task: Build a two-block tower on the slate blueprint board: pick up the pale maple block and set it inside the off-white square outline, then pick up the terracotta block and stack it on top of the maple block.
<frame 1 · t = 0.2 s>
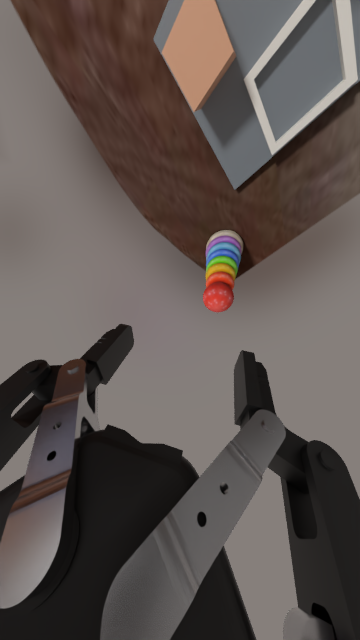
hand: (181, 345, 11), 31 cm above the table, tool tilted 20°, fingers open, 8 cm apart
blueprint board: (281, 22, 16), on the table
stacking toy: (224, 245, 36), on the table
terracotta block: (204, 56, 18), point 1 cm above the table, touching blueprint board
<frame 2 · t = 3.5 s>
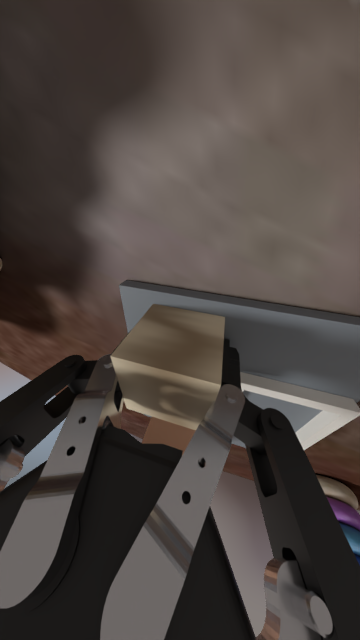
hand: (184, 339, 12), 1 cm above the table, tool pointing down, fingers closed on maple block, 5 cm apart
blueprint board: (221, 386, 16), on the table
stacking toy: (314, 480, 23), on the table
terracotta block: (178, 414, 20), point 1 cm above the table, touching blueprint board
maple block: (185, 337, 12), point 1 cm above the table, touching blueprint board, gripper
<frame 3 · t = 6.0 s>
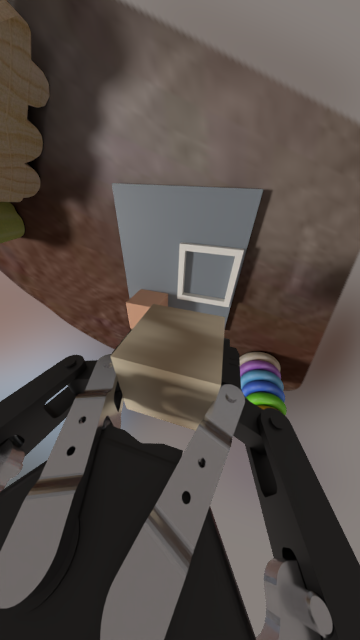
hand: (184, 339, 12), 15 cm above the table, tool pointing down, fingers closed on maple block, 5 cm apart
blueprint board: (179, 269, 25), on the table
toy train: (25, 129, 20), on the table
plant pot: (10, 217, 28), on the table
stacking toy: (256, 363, 32), on the table
terracotta block: (154, 303, 29), point 1 cm above the table, touching blueprint board
maple block: (185, 337, 12), point 15 cm above the table, touching gripper
when the fingers open (3 cm above the table, at t = 8.7 s): maple block drops 2 cm, resting on blueprint board.
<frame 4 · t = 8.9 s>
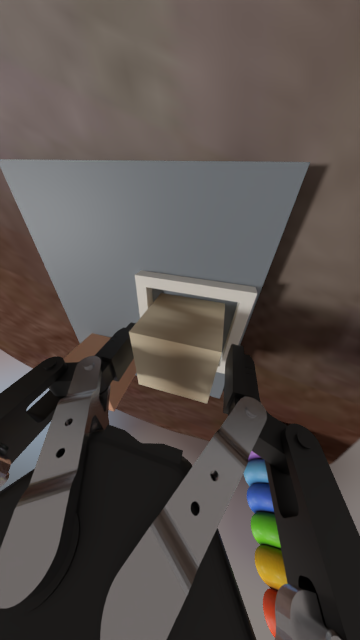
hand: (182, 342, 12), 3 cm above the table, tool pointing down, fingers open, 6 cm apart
blueprint board: (146, 308, 15), on the table
stacking toy: (267, 431, 22), on the table
terracotta block: (115, 353, 19), point 1 cm above the table, touching blueprint board
maple block: (189, 323, 14), point 1 cm above the table, touching blueprint board
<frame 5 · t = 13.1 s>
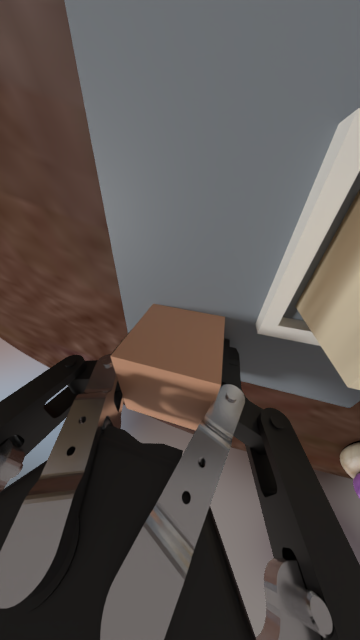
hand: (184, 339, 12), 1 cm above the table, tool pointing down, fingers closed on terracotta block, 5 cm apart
blueprint board: (270, 250, 8), on the table
terracotta block: (185, 337, 12), point 1 cm above the table, touching blueprint board, gripper
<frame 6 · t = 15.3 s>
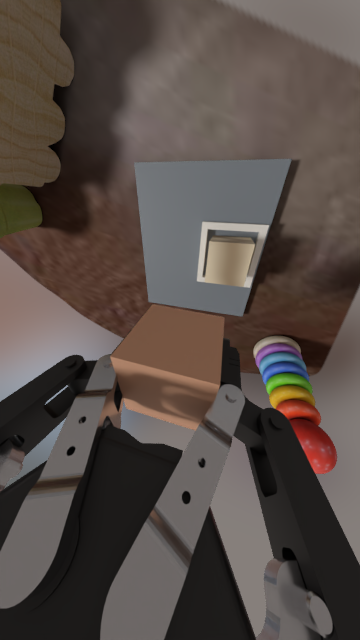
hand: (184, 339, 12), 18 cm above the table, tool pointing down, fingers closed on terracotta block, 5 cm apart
blueprint board: (198, 251, 25), on the table
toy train: (48, 112, 20), on the table
plant pot: (28, 206, 28), on the table
stacking toy: (274, 348, 32), on the table
terracotta block: (184, 337, 12), point 17 cm above the table, touching gripper
maple block: (227, 255, 23), point 1 cm above the table, touching blueprint board
when the fingers open (7 cm above the table, at t = 17.9 s): terracotta block drops 1 cm, resting on maple block.
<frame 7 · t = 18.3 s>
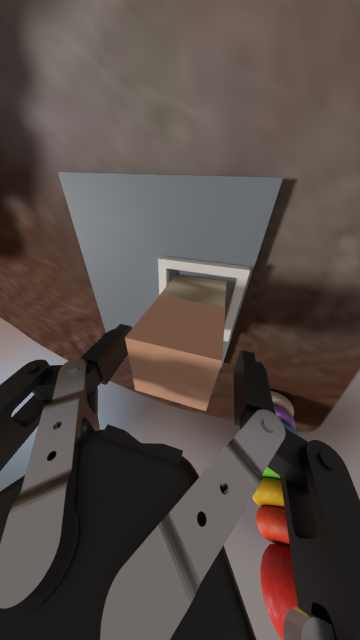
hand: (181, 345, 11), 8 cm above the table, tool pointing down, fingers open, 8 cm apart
blueprint board: (162, 289, 19), on the table
stacking toy: (262, 400, 26), on the table
terracotta block: (188, 327, 13), point 6 cm above the table, touching maple block
maple block: (198, 299, 17), point 1 cm above the table, touching blueprint board, terracotta block
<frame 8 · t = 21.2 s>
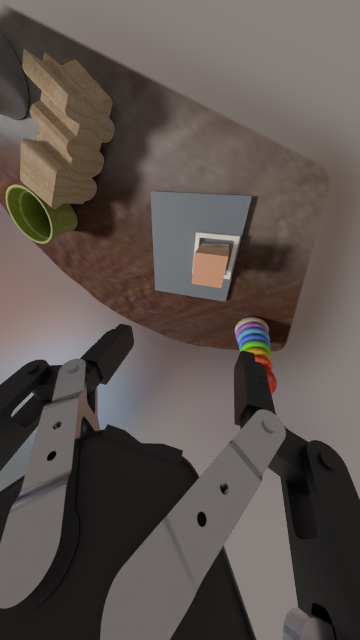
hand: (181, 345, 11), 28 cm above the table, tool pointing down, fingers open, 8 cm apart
blueprint board: (193, 252, 34), on the table
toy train: (92, 154, 30), on the table
plant pot: (67, 215, 37), on the table
stacking toy: (250, 327, 42), on the table
terracotta block: (211, 262, 29), point 6 cm above the table, touching maple block
maple block: (213, 255, 33), point 1 cm above the table, touching blueprint board, terracotta block
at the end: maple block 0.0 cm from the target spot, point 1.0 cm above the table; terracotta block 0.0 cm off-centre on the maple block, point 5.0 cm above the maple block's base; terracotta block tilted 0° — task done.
